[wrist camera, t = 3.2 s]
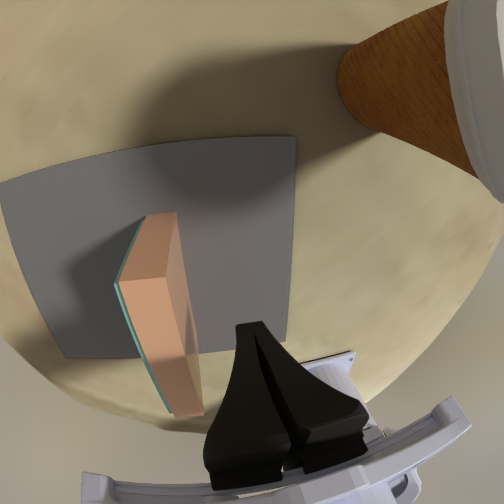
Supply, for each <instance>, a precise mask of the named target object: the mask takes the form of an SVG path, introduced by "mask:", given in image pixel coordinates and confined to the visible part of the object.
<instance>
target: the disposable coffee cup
mask: <svg viewBox="0 0 504 504" xmlns="http://www.w3.org/2000/svg"><path fill="white" fill-rule="evenodd" d="M337 81H338V88H339V92H340V95H341V98H342V100H343V103H344V104H345V106H346V107H347V109H348V110H349V112H350V113H351V114H352V115H353V116H354V118H355V119H356V120H358V121H359V122H360V123H362V124H363V125H365V126H367V127H369V128H372V129H374V130H377V131H380V132H382V133H385V134H388V135H390V136H392V137H395V138H397V139H400V140H402V141H405V142H407V143H409V144H411V145H414V146H416V147H418V148H420V149H423V150H425V151H427V152H429V153H431V154H433V155H435V156H437V157H439V158H441V159H443V160H445V161H447V162H449V163H451V164H453V165H455V166H457V167H458V168H460V169H462V170H464V171H465V172H467V173H469V174H471V175H472V176H474V177H476V178H478V179H479V180H480V181H481V182H482V183H483V184H484V186H485V187H486V188H487V189H488V190H489V191H490V192H491V194H492V196H493V197H494V198H496V199H497V200H498V201H499V202H500V203H503V204H504V0H449V1H446V2H444V3H441V4H439V5H436V6H435V7H431V8H429V9H427V10H424V11H422V12H420V13H418V14H415V15H413V16H411V17H410V18H407V19H404V20H403V21H400V22H398V23H396V24H394V25H392V26H390V27H389V28H386V29H384V30H383V31H380V32H379V33H377V34H375V35H373V36H372V37H370V38H368V39H366V40H364V41H363V42H361V43H359V44H357V45H356V46H354V47H352V48H350V49H349V50H348V51H347V52H346V53H345V54H344V55H343V57H342V58H341V60H340V63H339V66H338V73H337Z"/></svg>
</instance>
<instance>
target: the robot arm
mask: <svg viewBox="0 0 504 504" xmlns="http://www.w3.org/2000/svg"><path fill="white" fill-rule="evenodd" d="M235 331H236V351H235V359H234V364H233V369H232V373H231V377H230V381H229V384H228V388H227V391H226V393H225V396H224V399H223V402H222V404H221V406H220V409H219V411H218V413H217V415H216V417H215V419H214V421H213V423H212V425H211V427H210V429H209V430H208V432H207V436H206V440H205V444H204V449H203V459H204V465H205V467H206V469H207V470H208V472H209V474H210V480H211V483H199V484H148V483H134V482H123V481H115V480H113V479H112V478H110V477H108V476H105V475H100V474H94V473H89V472H82V483H81V504H413V502H414V501H415V499H416V498H417V496H418V495H419V493H420V491H421V487H420V486H421V480H420V478H419V476H418V474H417V468H416V467H418V466H419V465H421V464H422V463H424V462H426V461H427V460H429V459H430V458H432V457H433V456H435V455H436V454H438V453H439V452H440V451H442V450H443V449H445V448H446V447H447V446H449V445H450V444H451V443H453V442H454V441H455V440H456V439H457V438H458V437H460V436H461V435H462V434H463V433H464V432H465V431H467V430H468V429H469V428H470V427H471V426H472V424H471V422H470V421H469V419H468V418H467V416H466V415H465V413H464V412H463V410H462V409H461V408H460V406H459V405H458V403H457V402H456V400H455V399H454V397H453V396H450V397H448V398H447V399H445V400H444V401H442V402H441V403H439V404H438V405H437V406H436V407H434V409H433V410H432V411H431V413H429V414H427V415H426V416H424V417H422V418H421V419H419V420H417V421H415V422H413V423H412V424H410V425H408V426H406V427H404V428H402V429H400V430H398V431H396V430H395V429H390V428H386V429H384V430H383V432H384V434H385V436H386V437H384V435H383V433H382V432H381V430H380V428H379V426H378V425H376V423H375V421H374V419H373V418H372V416H371V414H370V412H369V410H368V408H367V406H366V405H365V403H364V401H363V399H362V397H361V395H360V393H359V392H358V390H357V388H356V386H355V384H354V383H353V381H352V379H351V377H350V375H349V372H350V369H351V367H352V364H353V362H354V359H355V356H356V353H355V352H354V351H351V352H347V353H344V354H340V355H336V356H332V357H328V358H325V359H320V360H316V361H312V362H308V363H303V364H299V363H298V362H297V361H296V360H295V359H294V358H293V357H292V356H291V355H290V354H289V353H288V352H287V351H286V350H285V349H284V348H283V347H282V345H281V344H280V343H279V342H278V341H277V340H276V338H275V337H274V336H273V335H272V333H271V332H270V331H269V329H268V328H267V326H266V325H265V323H264V322H263V321H256V322H249V323H242V324H237V325H236V326H235ZM282 466H283V470H284V472H281V469H282ZM292 484H294V485H292ZM288 485H291V486H288ZM284 486H287V487H285V488H282V489H279V490H276V491H272V492H268V493H264V494H260V495H255V496H250V497H245V498H240V499H239V497H238V496H232V495H240V494H247V493H253V492H259V491H265V490H270V489H275V488H280V487H284Z"/></svg>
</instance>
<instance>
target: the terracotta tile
mask: <svg viewBox="0 0 504 504" xmlns="http://www.w3.org/2000/svg"><path fill="white" fill-rule="evenodd" d="M114 286H115V289H116V292H117V295H118V298H119V301H120V304H121V307H122V310H123V312H124V315H125V318H126V320H127V323H128V326H129V328H130V331H131V333H132V336H133V338H134V341H135V343H136V345H137V348H138V350H139V352H140V355H141V357H142V359H143V361H144V364H145V366H146V368H147V370H148V372H149V374H150V376H151V379H152V381H153V383H154V385H155V387H156V389H157V391H158V393H159V395H160V397H161V398H162V400H163V402H164V404H165V406H166V408H167V410H168V411H169V413H173V414H174V416H175V417H189V416H201V415H204V407H203V398H202V388H201V377H200V366H199V353H198V338H197V333H196V328H195V323H194V318H193V313H192V308H191V302H190V297H189V292H188V286H187V280H186V274H185V268H184V262H183V256H182V249H181V242H180V235H179V228H178V220H177V213H176V212H169V213H160V214H152V215H147V216H146V218H145V220H142V221H141V223H140V225H139V227H138V229H137V231H136V233H135V236H134V238H133V240H132V242H131V244H130V247H129V249H128V251H127V253H126V256H125V258H124V260H123V263H122V265H121V267H120V270H119V272H118V275H117V277H116V280H115V282H114Z"/></svg>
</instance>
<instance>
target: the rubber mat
mask: <svg viewBox="0 0 504 504" xmlns="http://www.w3.org/2000/svg"><path fill="white" fill-rule="evenodd" d="M295 173H296V137H295V136H250V137H227V138H212V139H200V140H189V141H180V142H171V143H163V144H156V145H149V146H142V147H136V148H130V149H125V150H119V151H114V152H109V153H104V154H99V155H94V156H90V157H86V158H81V159H77V160H73V161H69V162H65V163H62V164H58V165H54V166H51V167H47V168H44V169H41V170H37V171H34V172H31V173H28V174H25V175H22V176H19V177H16V178H13V179H11V180H8V181H5V182H2V183H0V202H1V206H2V210H3V214H4V218H5V222H6V225H7V229H8V232H9V235H10V239H11V242H12V245H13V248H14V251H15V254H16V256H17V259H18V262H19V265H20V267H21V270H22V272H23V275H24V277H25V280H26V282H27V284H28V287H29V289H30V291H31V294H32V296H33V298H34V300H35V302H36V304H37V306H38V308H39V310H40V312H41V314H42V316H43V318H44V320H45V322H46V324H47V326H48V328H49V330H50V331H51V333H52V335H53V337H54V338H55V340H56V342H57V344H58V345H59V347H60V349H61V350H62V352H63V354H64V355H65V357H66V358H71V359H129V358H142V357H141V355H140V352H139V350H138V348H137V345H136V343H135V341H134V338H133V336H132V333H131V331H130V328H129V326H128V323H127V320H126V318H125V315H124V312H123V310H122V307H121V304H120V301H119V298H118V295H117V292H116V289H115V286H114V282H115V280H116V277H117V275H118V272H119V270H120V267H121V265H122V263H123V260H124V258H125V256H126V253H127V251H128V249H129V247H130V244H131V242H132V240H133V238H134V236H135V233H136V231H137V229H138V227H139V225H140V223H141V221H142V220H145V218H146V216H147V215H152V214H160V213H169V212H176V213H177V220H178V228H179V235H180V242H181V249H182V256H183V262H184V268H185V274H186V280H187V286H188V292H189V297H190V302H191V308H192V313H193V318H194V323H195V328H196V333H197V338H198V353H199V354H201V353H210V352H219V351H227V350H234V349H236V331H235V326H236V325H237V324H242V323H249V322H256V321H263V322H264V323H265V325H266V326H267V328H268V329H269V331H270V332H271V333H272V335H273V336H274V337H275V338H276V340H277V341H278V342H284V341H286V330H287V319H288V307H289V294H290V280H291V264H292V247H293V228H294V205H295Z"/></svg>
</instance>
